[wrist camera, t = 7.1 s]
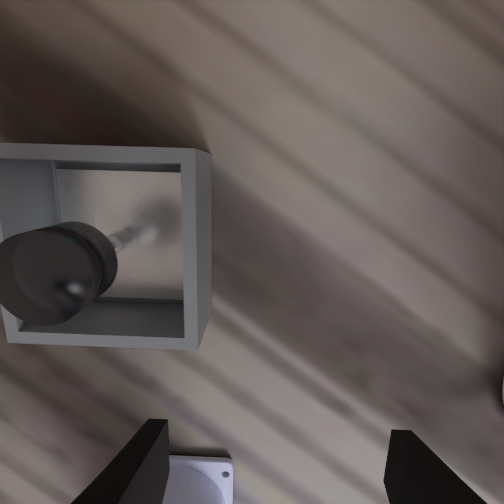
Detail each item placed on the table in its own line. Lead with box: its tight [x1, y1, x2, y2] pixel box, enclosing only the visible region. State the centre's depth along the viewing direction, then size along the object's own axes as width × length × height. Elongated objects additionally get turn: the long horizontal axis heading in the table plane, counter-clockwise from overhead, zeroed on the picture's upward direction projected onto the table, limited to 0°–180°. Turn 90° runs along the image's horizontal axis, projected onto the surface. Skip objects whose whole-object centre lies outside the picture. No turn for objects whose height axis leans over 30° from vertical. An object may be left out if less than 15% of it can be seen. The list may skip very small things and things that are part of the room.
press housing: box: [0, 143, 212, 351], centre depth 16 cm, size 9×9×4 cm
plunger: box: [0, 169, 184, 326], centre depth 14 cm, size 7×7×8 cm
